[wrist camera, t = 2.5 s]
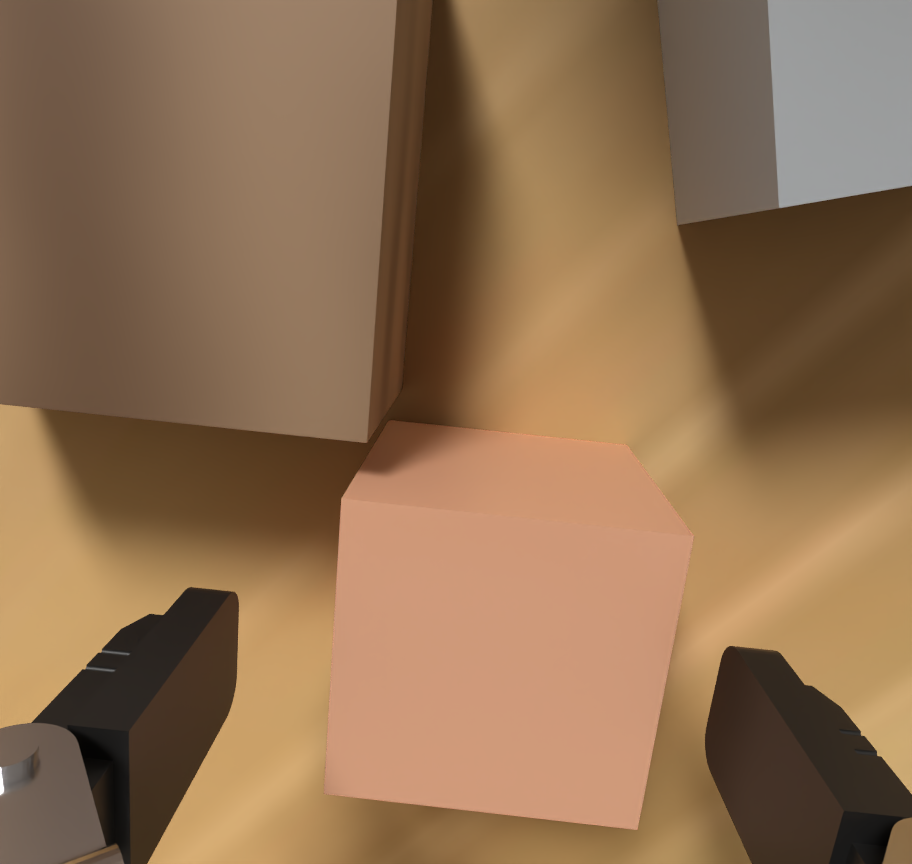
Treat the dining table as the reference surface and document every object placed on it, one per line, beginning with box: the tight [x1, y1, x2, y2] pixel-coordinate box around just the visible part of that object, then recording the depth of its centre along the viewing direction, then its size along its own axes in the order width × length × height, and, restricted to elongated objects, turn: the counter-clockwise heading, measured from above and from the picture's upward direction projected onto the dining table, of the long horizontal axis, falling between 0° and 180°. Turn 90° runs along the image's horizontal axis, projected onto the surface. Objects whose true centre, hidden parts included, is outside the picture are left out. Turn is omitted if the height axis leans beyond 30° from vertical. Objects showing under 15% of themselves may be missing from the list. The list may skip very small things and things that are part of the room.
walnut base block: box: [0, 0, 433, 443], centre depth 13 cm, size 9×9×5 cm
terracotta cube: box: [324, 420, 694, 830], centre depth 14 cm, size 6×6×6 cm
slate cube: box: [657, 0, 912, 225], centre depth 11 cm, size 6×6×6 cm
